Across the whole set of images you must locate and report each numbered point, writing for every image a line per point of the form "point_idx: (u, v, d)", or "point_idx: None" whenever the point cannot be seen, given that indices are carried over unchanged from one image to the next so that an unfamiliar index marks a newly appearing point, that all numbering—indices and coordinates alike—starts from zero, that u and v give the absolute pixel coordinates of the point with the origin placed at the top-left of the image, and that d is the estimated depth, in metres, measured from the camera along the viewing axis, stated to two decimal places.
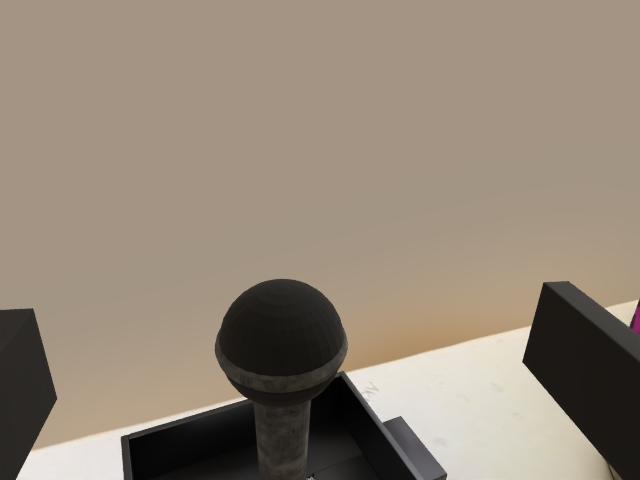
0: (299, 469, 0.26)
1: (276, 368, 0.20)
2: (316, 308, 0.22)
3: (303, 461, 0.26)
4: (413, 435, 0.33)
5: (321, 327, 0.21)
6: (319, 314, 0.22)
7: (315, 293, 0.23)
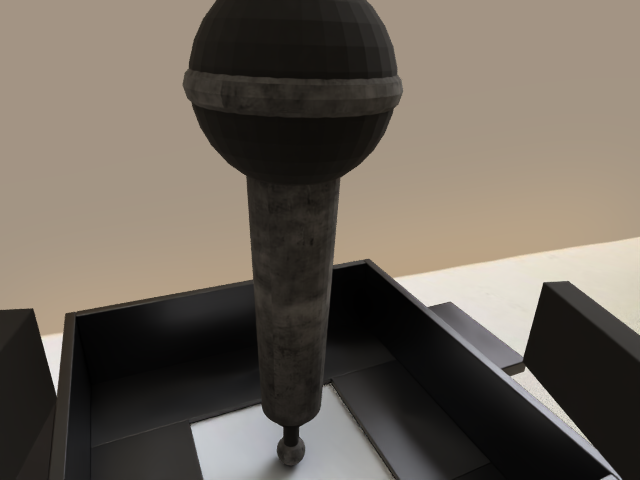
0: (318, 320, 0.17)
1: (287, 62, 0.11)
2: None
3: (324, 309, 0.17)
4: (471, 320, 0.24)
5: (365, 14, 0.12)
6: None
7: None
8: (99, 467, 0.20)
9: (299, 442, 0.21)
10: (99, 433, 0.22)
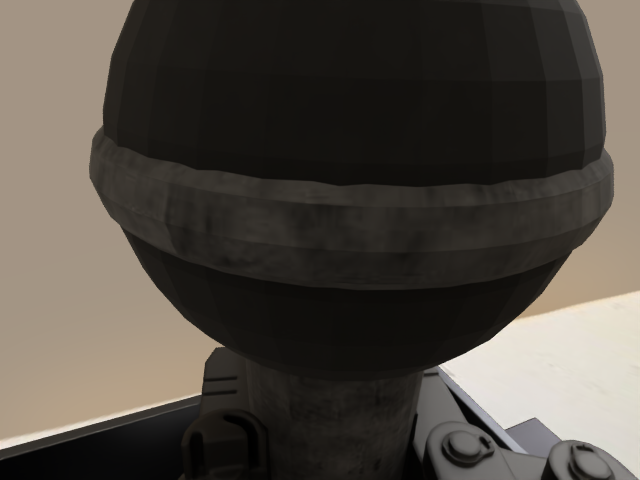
0: None
1: (371, 135, 0.04)
2: None
3: None
4: None
5: None
6: None
7: None
8: None
9: None
10: None
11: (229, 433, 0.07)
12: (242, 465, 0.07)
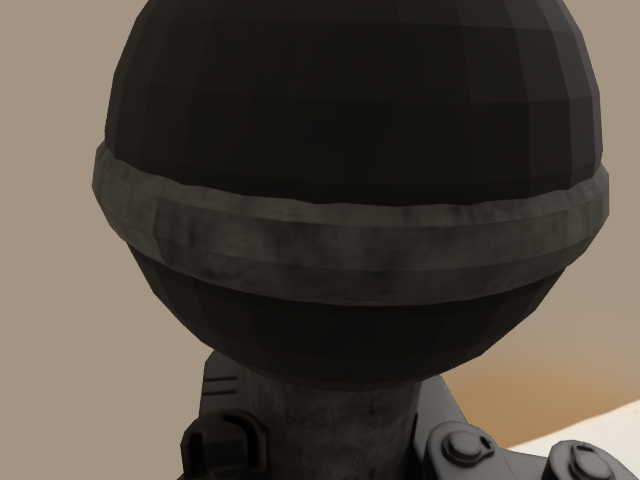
0: None
1: (347, 155, 0.04)
2: None
3: None
4: None
5: (559, 7, 0.04)
6: None
7: None
8: None
9: None
10: None
11: (229, 433, 0.07)
12: (242, 465, 0.07)
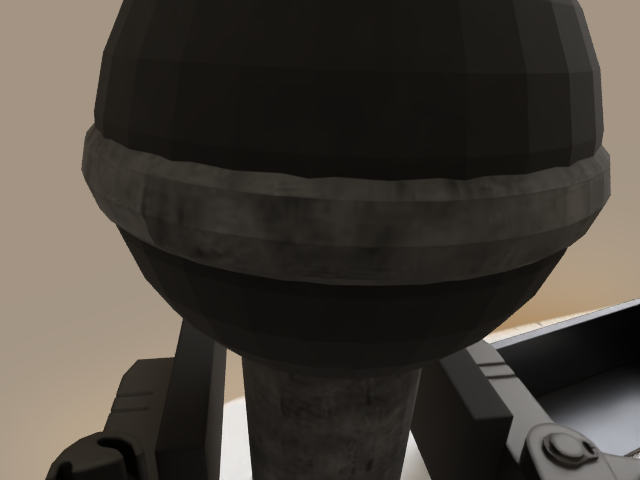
0: None
1: (340, 129, 0.03)
2: None
3: None
4: None
5: None
6: None
7: None
8: None
9: None
10: None
11: (103, 459, 0.06)
12: None
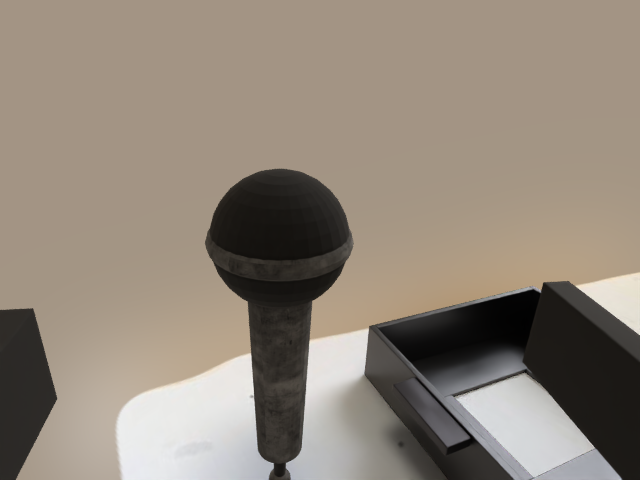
0: (297, 391, 0.24)
1: (269, 250, 0.18)
2: (318, 193, 0.19)
3: (301, 383, 0.24)
4: None
5: (322, 212, 0.19)
6: (321, 199, 0.19)
7: (318, 182, 0.20)
8: None
9: (285, 473, 0.28)
10: None
11: None
12: None
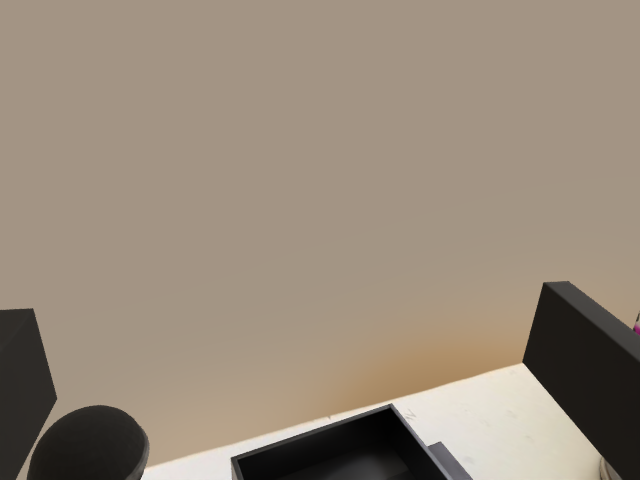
0: None
1: None
2: (104, 443, 0.26)
3: None
4: (451, 457, 0.44)
5: (104, 461, 0.26)
6: (105, 449, 0.26)
7: (113, 425, 0.27)
8: None
9: None
10: None
11: None
12: None
